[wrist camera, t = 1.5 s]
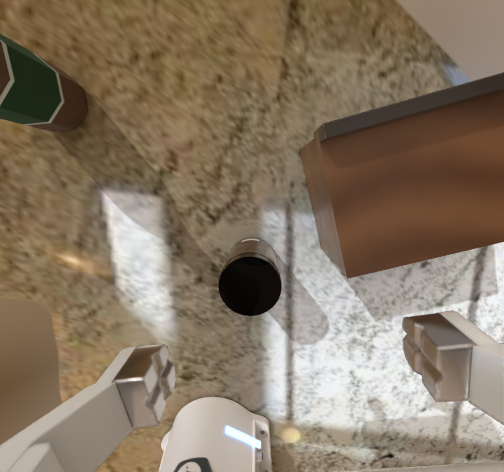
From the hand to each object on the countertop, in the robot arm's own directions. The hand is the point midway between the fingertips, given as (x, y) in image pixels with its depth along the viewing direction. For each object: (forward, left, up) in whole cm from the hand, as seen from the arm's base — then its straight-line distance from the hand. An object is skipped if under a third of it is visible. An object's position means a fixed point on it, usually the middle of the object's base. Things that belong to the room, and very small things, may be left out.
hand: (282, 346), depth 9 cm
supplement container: (-5, +3, -28) cm, 29 cm away
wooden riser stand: (+1, -16, -28) cm, 32 cm away
